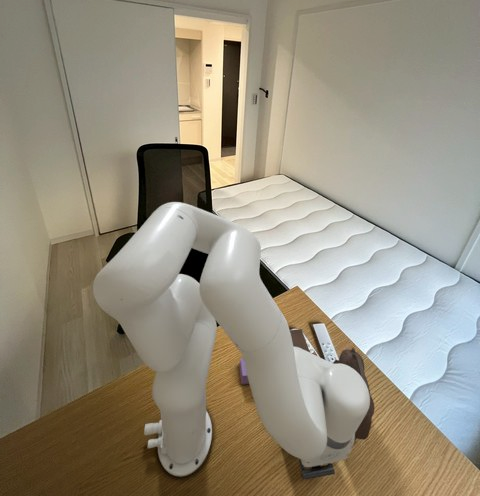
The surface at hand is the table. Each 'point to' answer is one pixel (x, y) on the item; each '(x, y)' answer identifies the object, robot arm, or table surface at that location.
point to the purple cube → (243, 372)
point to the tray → (316, 471)
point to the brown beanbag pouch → (357, 364)
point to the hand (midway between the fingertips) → (312, 458)
